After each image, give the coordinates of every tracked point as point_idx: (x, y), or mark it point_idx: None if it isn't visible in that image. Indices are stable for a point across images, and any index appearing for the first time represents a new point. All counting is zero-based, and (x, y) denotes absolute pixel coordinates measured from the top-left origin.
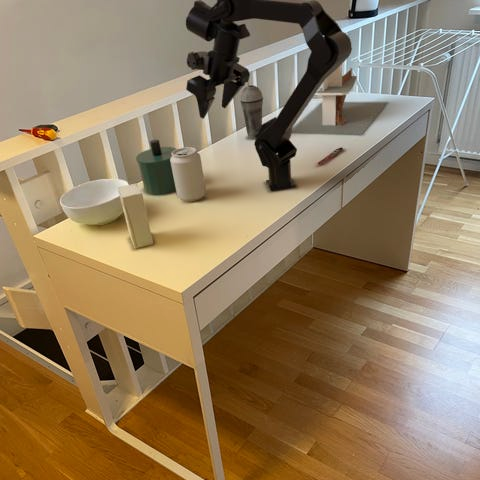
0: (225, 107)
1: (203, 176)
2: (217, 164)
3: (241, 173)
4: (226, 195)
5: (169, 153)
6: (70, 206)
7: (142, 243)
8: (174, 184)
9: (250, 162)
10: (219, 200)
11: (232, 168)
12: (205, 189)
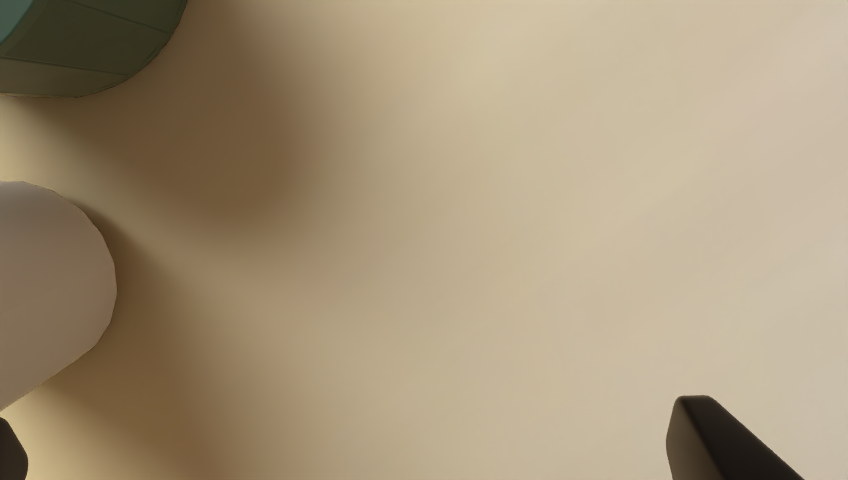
0: (676, 469)
1: (29, 389)
2: (574, 43)
3: (488, 337)
4: (159, 460)
5: None
6: None
7: None
8: (4, 95)
9: (692, 272)
10: (84, 465)
11: (544, 216)
12: (77, 358)
